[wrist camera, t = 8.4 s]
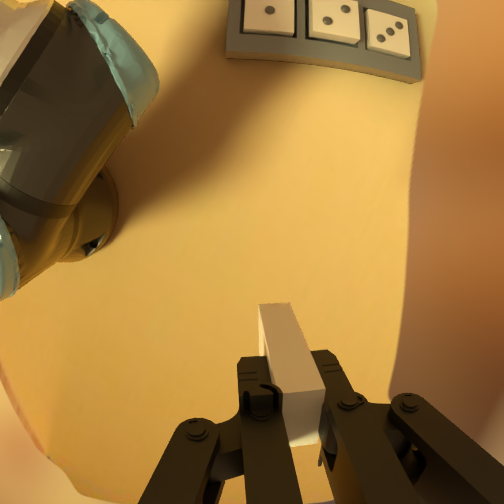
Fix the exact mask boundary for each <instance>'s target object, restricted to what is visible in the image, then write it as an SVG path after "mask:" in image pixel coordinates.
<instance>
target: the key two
mask: <svg viewBox="0 0 504 504" xmlns="http://www.w3.org/2000/svg"><path fill="white" fill-rule="evenodd" d="M309 37H315V38H322V39H328V40H334V41H340V42H345V43H350V44H355V43H357V42H358V41H359V40H360V27H359V11H358V1H353V0H309Z"/></svg>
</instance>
